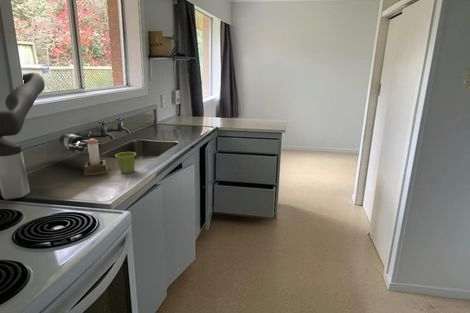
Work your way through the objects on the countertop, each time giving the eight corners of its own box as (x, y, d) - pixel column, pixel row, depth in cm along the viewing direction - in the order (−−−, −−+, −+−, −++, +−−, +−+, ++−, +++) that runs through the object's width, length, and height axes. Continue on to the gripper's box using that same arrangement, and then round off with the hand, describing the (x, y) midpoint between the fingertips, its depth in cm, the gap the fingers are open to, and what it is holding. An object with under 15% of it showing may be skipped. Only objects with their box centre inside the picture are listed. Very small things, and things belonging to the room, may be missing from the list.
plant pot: (116, 169, 156) (114, 152, 153) (136, 167, 160) (134, 150, 157) (117, 175, 148) (115, 158, 145) (138, 173, 151) (137, 155, 149)
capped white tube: (100, 170, 152) (97, 139, 148) (90, 171, 151) (86, 140, 146) (100, 167, 156) (97, 137, 152) (91, 168, 155) (87, 137, 150)
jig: (107, 173, 151) (106, 165, 150) (84, 175, 148) (83, 167, 147) (107, 166, 160) (106, 159, 159) (85, 169, 157) (84, 161, 156)
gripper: (59, 137, 155) (75, 142, 145) (87, 132, 166) (104, 137, 156) (61, 152, 157) (77, 158, 147) (89, 146, 168) (106, 151, 158)
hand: (91, 147), depth 152 cm, fingers open, 8 cm apart
